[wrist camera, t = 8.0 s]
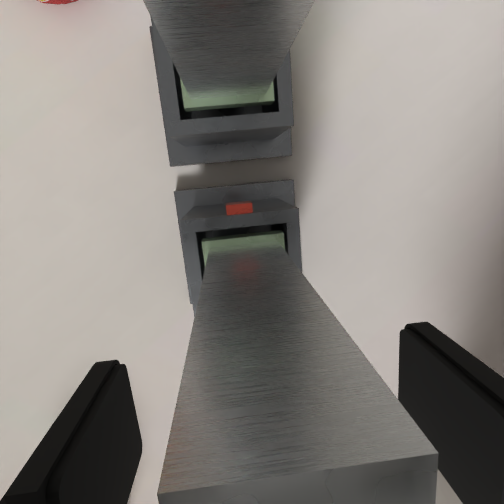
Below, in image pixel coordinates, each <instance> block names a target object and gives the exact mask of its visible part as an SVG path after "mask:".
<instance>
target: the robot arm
mask: <svg viewBox="0 0 504 504" xmlns="http://www.w3.org/2000/svg"><path fill="white" fill-rule="evenodd" d="M398 400H399V402H400V403H401V404H402V406H403V407H404V408H405V410H406V411H407V412H408V413H409V415H410V416H411V417H412V419H413V420H414V421H415V423H416V424H417V425H418V427H419V428H420V429H421V431H422V432H423V433H424V435H425V436H426V437H427V439H428V440H429V441H430V443H431V444H432V445H433V446H434V448H435V449H436V450H437V452H438V470H437V487H436V504H504V378H503V377H501V376H500V375H499V374H497V373H496V372H495V371H493V370H492V369H491V368H489V367H488V366H487V365H485V364H484V363H483V362H481V361H480V360H479V359H477V358H476V357H474V356H473V355H472V354H470V353H469V352H468V351H466V350H465V349H464V348H462V347H461V346H460V345H458V344H457V343H456V342H454V341H453V340H452V339H450V338H449V337H448V336H446V335H445V334H443V333H442V332H441V331H439V330H438V329H437V328H435V327H434V326H433V325H431V324H430V323H428V322H420V323H411V324H407V325H406V326H405V329H403V330H401V331H400V344H399V391H398ZM141 454H142V439H141V434H140V429H139V425H138V420H137V415H136V410H135V406H134V401H133V396H132V391H131V387H130V382H129V377H128V372H127V368H126V366H125V364H120V363H119V361H118V360H111V361H102V362H96V363H95V364H94V365H93V366H92V368H91V369H90V371H89V372H88V374H87V375H86V377H85V378H84V380H83V381H82V383H81V384H80V385H79V387H78V388H77V390H76V391H75V393H74V394H73V396H72V397H71V399H70V400H69V402H68V403H67V404H66V406H65V407H64V409H63V410H62V412H61V413H60V415H59V416H58V418H57V419H56V421H55V422H54V423H53V425H52V426H51V428H50V429H49V431H48V432H47V433H46V435H45V436H44V438H43V439H42V441H41V442H40V444H39V445H38V447H37V448H36V450H35V451H34V452H33V454H32V455H31V457H30V458H29V460H28V461H27V463H26V464H25V466H24V467H23V469H22V470H21V471H20V473H19V474H18V476H17V477H16V479H15V480H14V482H13V483H12V485H11V486H10V488H9V489H8V490H7V492H6V493H5V495H4V496H3V498H2V499H1V501H0V504H127V502H128V498H129V495H130V492H131V488H132V485H133V482H134V478H135V475H136V472H137V468H138V465H139V461H140V458H141Z"/></svg>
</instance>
